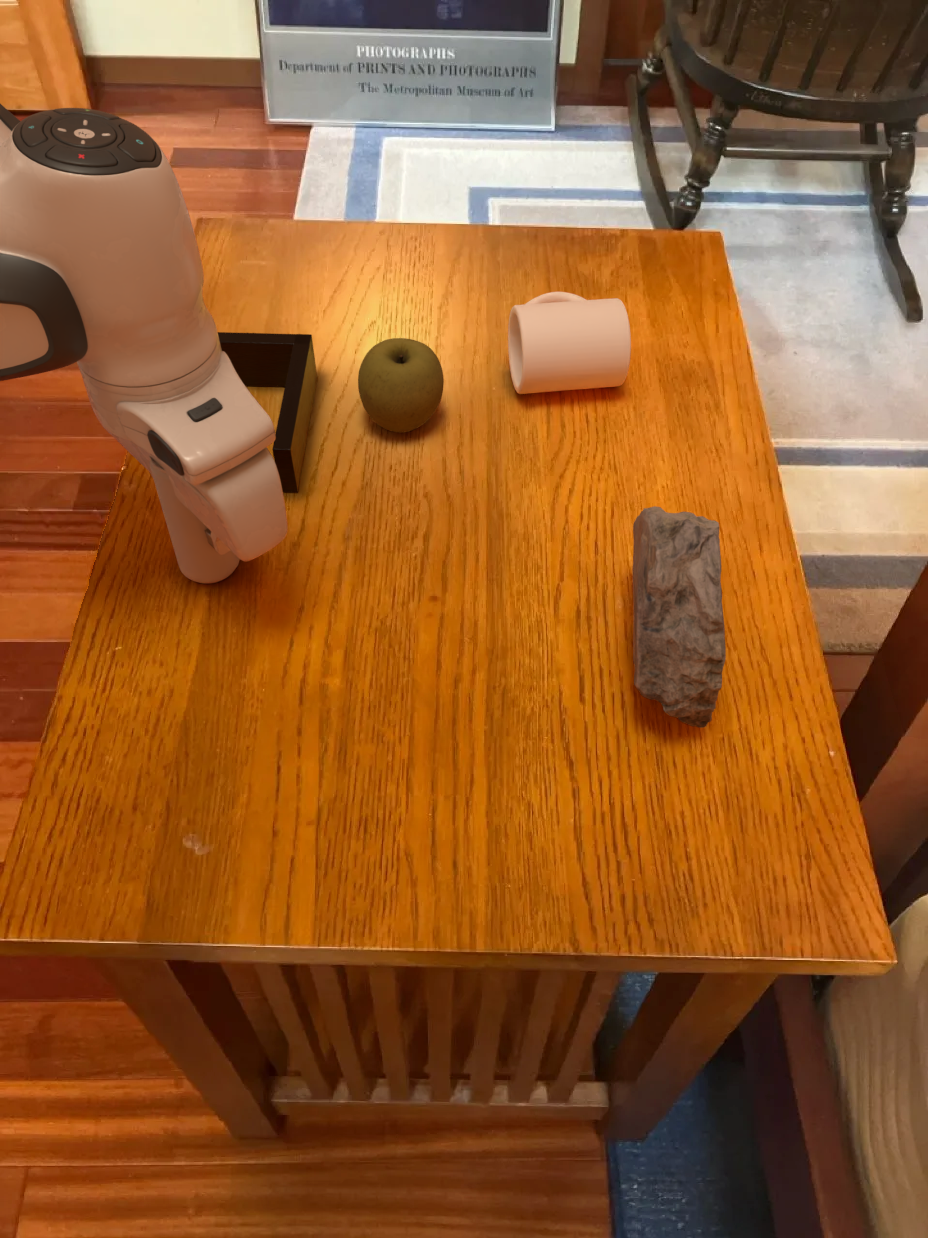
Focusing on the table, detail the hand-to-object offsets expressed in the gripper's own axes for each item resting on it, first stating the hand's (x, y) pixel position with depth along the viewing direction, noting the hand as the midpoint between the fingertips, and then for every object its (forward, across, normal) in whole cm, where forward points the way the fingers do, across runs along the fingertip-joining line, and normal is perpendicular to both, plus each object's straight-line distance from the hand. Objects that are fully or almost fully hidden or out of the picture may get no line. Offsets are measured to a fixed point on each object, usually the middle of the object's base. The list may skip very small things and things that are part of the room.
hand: (201, 524), depth 72 cm
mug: (+5, +2, +39) cm, 40 cm away
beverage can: (+5, 0, 0) cm, 5 cm away
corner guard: (+5, -11, +12) cm, 17 cm away
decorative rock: (+5, +30, +20) cm, 36 cm away
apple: (+5, -3, +23) cm, 24 cm away
